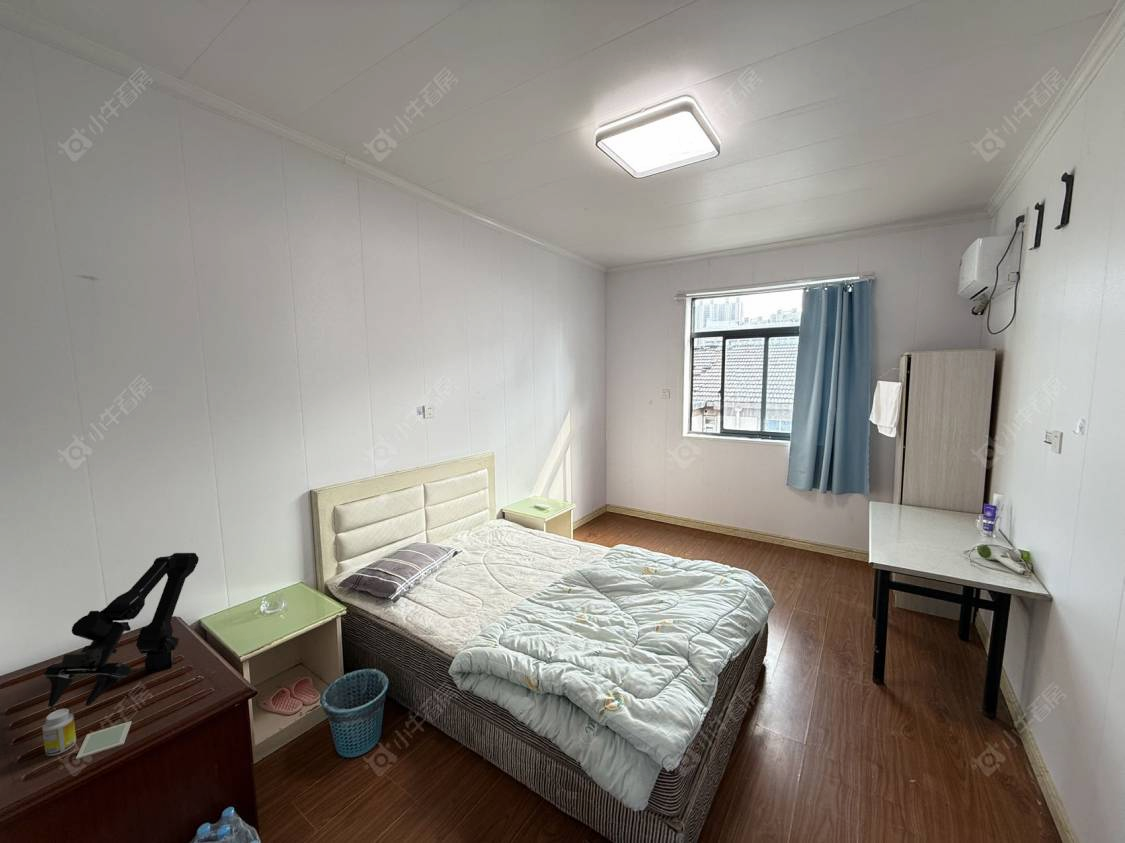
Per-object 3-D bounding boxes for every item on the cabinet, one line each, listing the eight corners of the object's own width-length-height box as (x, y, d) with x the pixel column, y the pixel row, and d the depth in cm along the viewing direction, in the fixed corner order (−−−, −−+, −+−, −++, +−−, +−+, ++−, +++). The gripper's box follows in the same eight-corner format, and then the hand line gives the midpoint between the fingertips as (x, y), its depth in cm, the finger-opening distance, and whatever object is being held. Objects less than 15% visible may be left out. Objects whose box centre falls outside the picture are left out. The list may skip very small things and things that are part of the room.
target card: (131, 722, 127) (131, 720, 127) (123, 744, 120) (123, 742, 120) (87, 735, 122) (87, 734, 122) (75, 759, 115) (75, 758, 115)
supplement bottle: (75, 736, 122) (72, 702, 121) (76, 747, 118) (73, 713, 117) (45, 748, 118) (41, 714, 116) (45, 761, 114) (41, 725, 113)
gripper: (46, 638, 122) (4, 703, 112) (119, 637, 124) (83, 701, 114) (77, 647, 131) (40, 708, 121) (144, 645, 133) (113, 706, 123)
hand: (68, 706), depth 120 cm, fingers open, 9 cm apart
